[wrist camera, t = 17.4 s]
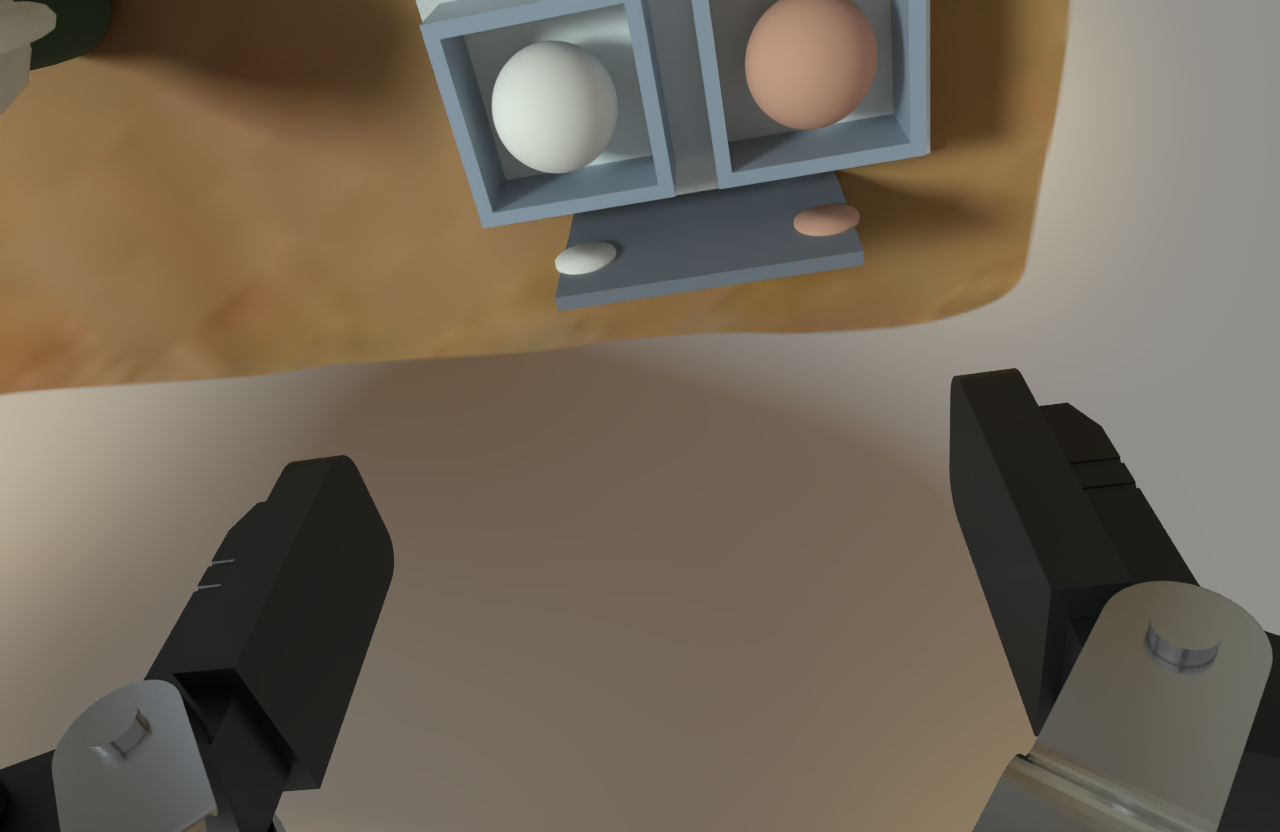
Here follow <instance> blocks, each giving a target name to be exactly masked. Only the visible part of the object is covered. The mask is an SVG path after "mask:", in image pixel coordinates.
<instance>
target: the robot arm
mask: <svg viewBox="0 0 1280 832" xmlns="http://www.w3.org/2000/svg"><path fill="white" fill-rule="evenodd" d="M950 397H951V398H950V465H949V468H950V469H949V470H950V484H951V492H952V498H953V503H954V507H955V511H956V515H957V518H958V521H959V524H960V527H961V530H962V533H963V535H964V538H965V541H966V544H967V547H968V550H969V552H970V555H971V558H972V561H973V563H974V566H975V569H976V572H977V575H978V578H979V580H980V583H981V586H982V589H983V592H984V594H985V597H986V600H987V603H988V606H989V608H990V611H991V614H992V617H993V620H994V623H995V625H996V628H997V631H998V634H999V637H1000V639H1001V642H1002V645H1003V648H1004V651H1005V654H1006V656H1007V659H1008V662H1009V665H1010V668H1011V670H1012V673H1013V676H1014V679H1015V682H1016V684H1017V687H1018V690H1019V693H1020V696H1021V698H1022V701H1023V704H1024V707H1025V710H1026V713H1027V715H1028V718H1029V721H1030V724H1031V727H1032V729H1033V732H1034V735H1035V736H1038V738H1037V740H1036V742H1035V744H1034V745H1033V747H1032V749H1031V750H1030V752H1029V753H1028V754H1027V755H1026V756H1024V755H1022V754H1017V755H1016V756H1015V757H1014V758H1013V759H1012V760H1011V762H1010V763H1009V764H1008V766H1007V767H1006V769H1005V770H1004V772H1003V774H1002V776H1001V777H1000V779H999V782H998V783H997V785H996V787H995V789H994V791H993V792H992V794H991V796H990V798H989V801H988V802H987V804H986V806H985V808H984V810H983V812H982V814H981V816H980V818H979V819H978V821H977V823H976V825H975V827H974V829H973V831H972V832H1280V636H1278V635H1275V634H1272V633H1269V632H1266V631H1264V630H1263V628H1262V627H1261V626H1260V624H1259V623H1258V622H1257V621H1256V620H1255V619H1254V617H1253V616H1251V615H1250V614H1249V613H1248V612H1247V611H1246V610H1244V609H1243V608H1242V607H1241V606H1239V605H1238V604H1236V603H1234V602H1233V601H1232V600H1230V599H1228V598H1226V597H1224V596H1222V595H1220V594H1218V593H1216V592H1213V591H1211V590H1208V589H1205V588H1203V587H1200V585H1199V584H1198V583H1197V581H1196V580H1195V578H1194V576H1193V575H1192V573H1191V571H1190V570H1189V568H1188V566H1187V565H1186V563H1185V562H1184V560H1183V558H1182V557H1181V555H1180V553H1179V552H1178V550H1177V549H1176V547H1175V545H1174V544H1173V542H1172V541H1171V539H1170V537H1169V536H1168V534H1167V532H1166V531H1165V529H1164V528H1163V526H1162V524H1161V522H1160V521H1159V519H1158V518H1157V516H1156V514H1155V513H1154V511H1153V510H1152V508H1151V506H1150V505H1149V503H1148V501H1147V500H1146V498H1145V496H1144V495H1143V493H1142V492H1141V490H1140V489H1139V488H1136V484H1135V480H1134V478H1133V477H1132V475H1131V474H1130V472H1129V470H1128V469H1127V467H1126V466H1125V464H1124V463H1121V461H1120V456H1119V454H1118V452H1117V451H1116V449H1115V448H1114V446H1113V444H1112V443H1111V441H1110V439H1109V438H1108V436H1107V435H1106V433H1105V431H1104V430H1103V428H1102V427H1101V426H1100V425H1099V424H1097V423H1096V422H1094V421H1093V420H1092V419H1090V418H1089V417H1087V416H1086V415H1084V414H1083V413H1081V412H1080V411H1079V410H1077V409H1076V408H1074V407H1073V406H1072V405H1070V404H1069V403H1061V404H1053V405H1045V406H1038V404H1037V402H1036V401H1035V399H1034V397H1033V395H1032V393H1031V391H1030V389H1029V388H1028V386H1027V384H1026V382H1025V380H1024V378H1023V376H1022V375H1021V373H1020V372H1019V371H1018V370H1017V369H1016V368H1012V369H1005V370H998V371H990V372H982V373H975V374H967V375H959V376H954V377H953V379H952V382H951V394H950ZM212 563H213V564H212V566H211V567H208V568H207V570H206V572H205V573H204V575H203V577H202V579H201V581H200V582H199V584H198V588H199V589H198V591H196V592H194V593H193V594H192V596H191V598H190V600H189V602H188V603H187V605H186V607H185V609H184V610H183V612H182V614H181V616H180V617H179V619H178V621H177V623H176V625H175V626H174V628H173V630H172V631H171V633H170V635H169V637H168V638H167V640H166V642H165V644H164V645H163V647H162V649H161V651H160V652H159V654H158V656H157V658H156V659H155V661H154V663H153V665H152V666H151V668H150V670H149V672H148V674H147V675H146V677H145V679H144V680H143V681H139V682H135V683H131V684H129V685H126V686H123V687H121V688H119V689H117V690H115V691H113V692H111V693H109V694H107V695H106V696H104V697H102V698H101V699H99V700H98V701H96V702H95V703H94V704H93V705H91V706H90V707H89V708H87V709H86V710H85V711H84V712H83V713H82V714H81V715H80V716H79V717H78V718H77V719H76V720H75V721H74V722H73V723H72V724H71V725H70V727H69V728H68V729H67V731H66V732H65V733H64V735H63V736H62V738H61V740H60V741H59V743H58V745H57V747H56V749H55V750H52V751H49V752H47V753H44V754H42V755H39V756H36V757H33V758H31V759H28V760H25V761H22V762H20V763H17V764H15V765H12V766H9V767H6V768H4V769H1V770H0V832H286V831H285V828H284V826H283V824H282V822H281V821H280V819H279V818H278V817H277V815H276V814H275V811H276V808H277V806H278V803H279V800H280V798H281V795H282V792H283V791H295V790H308V789H319V788H320V787H321V784H322V781H323V778H324V775H325V772H326V769H327V766H328V763H329V760H330V758H331V755H332V752H333V748H334V746H335V743H336V740H337V737H338V734H339V731H340V728H341V725H342V722H343V719H344V717H345V714H346V711H347V708H348V705H349V702H350V699H351V696H352V693H353V690H354V687H355V685H356V682H357V679H358V676H359V673H360V670H361V667H362V664H363V661H364V659H365V656H366V653H367V650H368V647H369V644H370V641H371V638H372V635H373V632H374V629H375V626H376V624H377V621H378V618H379V614H380V612H381V609H382V606H383V603H384V600H385V597H386V595H387V592H388V589H389V585H390V583H391V580H392V576H393V570H394V553H393V546H392V541H391V538H390V535H389V533H388V531H387V529H386V526H385V524H384V523H383V520H382V519H381V516H380V514H379V512H378V510H377V508H376V506H375V504H374V502H373V500H372V498H371V496H370V494H369V492H368V489H367V487H366V485H365V483H364V481H363V479H362V477H361V475H360V473H359V471H358V469H357V467H356V465H355V464H354V463H353V461H352V460H351V459H350V458H349V457H347V456H344V455H340V456H332V457H325V458H317V459H309V460H302V461H294V462H291V463H289V464H288V465H287V466H285V468H284V469H283V471H282V473H281V475H280V477H279V478H278V480H277V482H276V484H275V486H274V488H273V489H272V492H271V493H270V495H269V497H268V499H267V501H266V502H259V503H257V504H256V505H255V506H254V507H253V508H252V509H251V510H250V511H249V512H248V513H247V514H246V515H245V516H244V517H243V518H242V519H241V520H239V521H238V522H237V523H236V524H235V525H234V526H233V527H232V528H231V529H230V530H229V531H228V533H227V535H226V537H225V538H224V540H223V542H222V544H221V545H220V547H219V549H218V551H217V553H216V554H215V556H214V558H213V559H212Z"/></svg>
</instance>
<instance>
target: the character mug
mask: <svg viewBox="0 0 1280 832" xmlns="http://www.w3.org/2000/svg"><path fill="white" fill-rule="evenodd" d="M111 11H112V10H111V4H110V0H0V114H2V113H3V112H4V111H5V110H6V109H7V108H8V107H9V106H10V105H11V103H12V102H13V101H14V100H15V98H16V97H17V96H18V95H19V93H20V92H21V91H22V90H23V89H24V87H25V86H26V85H27V84H28V79H29V71H30V70H35V69H39V68H43V67H47V66H51V65H55V64H58V63H61V62H64V61H67V60H70V59H73V58H76V57H79V56H82V55H84V54H85V53H86V52H88V51H89V50H90V49H92V48H93V47H94V46H95V45H97V44H98V43H99V42H101V41H102V40H103V39H104V36H105V33H106V29H107V26H108V22H109V18H110V15H111Z"/></svg>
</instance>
